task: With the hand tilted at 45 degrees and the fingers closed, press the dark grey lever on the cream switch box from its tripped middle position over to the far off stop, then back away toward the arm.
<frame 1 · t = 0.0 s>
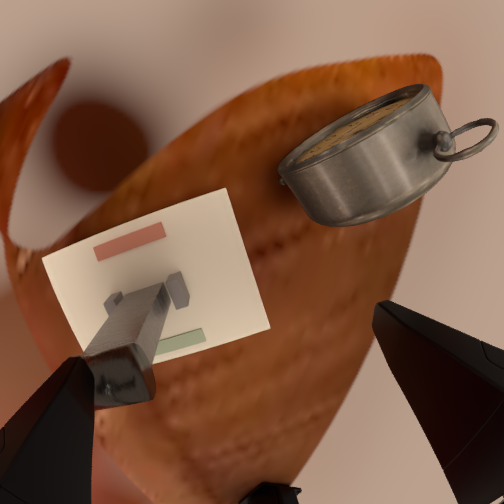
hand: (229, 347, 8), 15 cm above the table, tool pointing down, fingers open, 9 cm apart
breaker lever: (129, 333, 14), point 10 cm above the table, hinge at 0.0°
switch box: (158, 278, 23), on the table
alarm clock: (329, 162, 23), on the table
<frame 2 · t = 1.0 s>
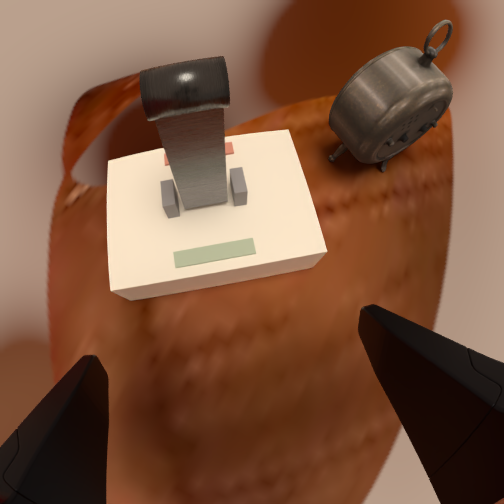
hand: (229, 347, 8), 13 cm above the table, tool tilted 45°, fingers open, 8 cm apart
breaker lever: (195, 147, 14), point 10 cm above the table, hinge at 0.0°
switch box: (210, 222, 23), on the table
alarm clock: (369, 155, 27), on the table
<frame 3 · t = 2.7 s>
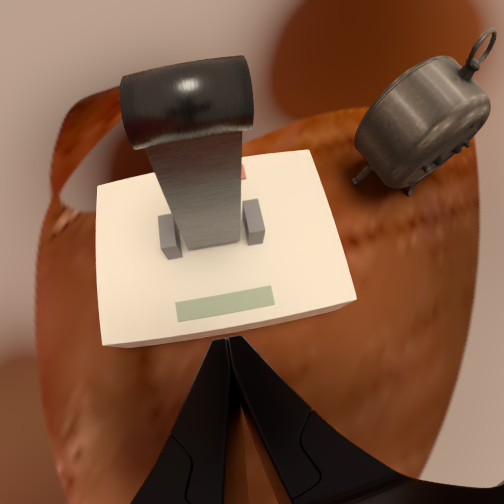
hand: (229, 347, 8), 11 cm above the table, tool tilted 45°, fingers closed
breaker lever: (201, 179, 11), point 10 cm above the table, hinge at 0.0°
switch box: (217, 259, 20), on the table
alarm clock: (394, 177, 24), on the table
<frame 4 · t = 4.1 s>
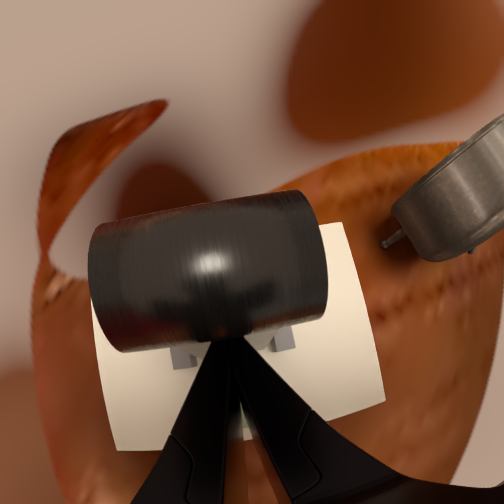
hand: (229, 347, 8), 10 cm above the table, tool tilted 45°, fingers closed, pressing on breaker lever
breaker lever: (223, 319, 9), point 10 cm above the table, hinge at 4.5°, touching gripper
switch box: (233, 343, 18), on the table
alarm clock: (424, 233, 21), on the table
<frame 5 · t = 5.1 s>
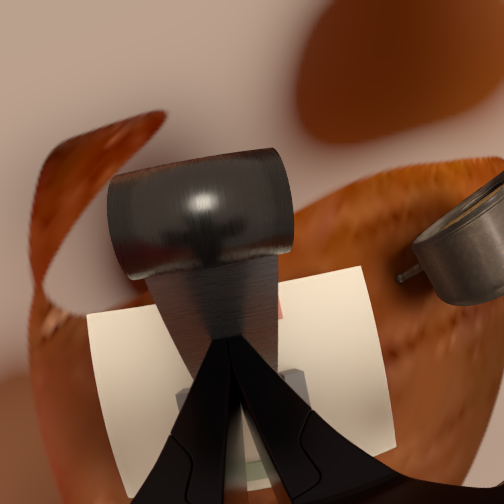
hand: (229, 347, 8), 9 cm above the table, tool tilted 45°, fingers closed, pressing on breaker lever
breaker lever: (226, 329, 9), point 9 cm above the table, hinge at 31.8°, touching gripper
switch box: (241, 387, 16), on the table
alarm clock: (439, 262, 19), on the table
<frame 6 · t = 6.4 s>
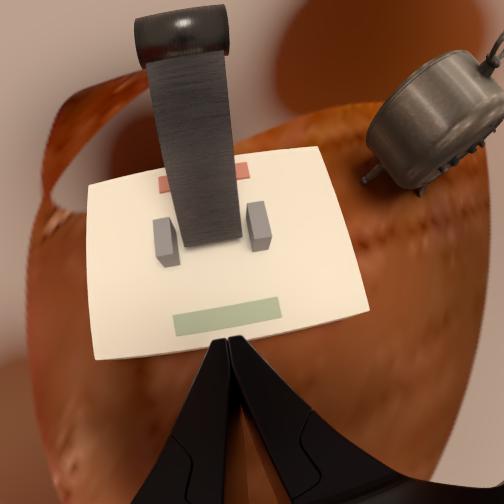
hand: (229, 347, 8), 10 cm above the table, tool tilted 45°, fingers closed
breaker lever: (195, 131, 11), point 9 cm above the table, hinge at 31.8°
switch box: (218, 264, 19), on the table
alarm clock: (404, 176, 22), on the table
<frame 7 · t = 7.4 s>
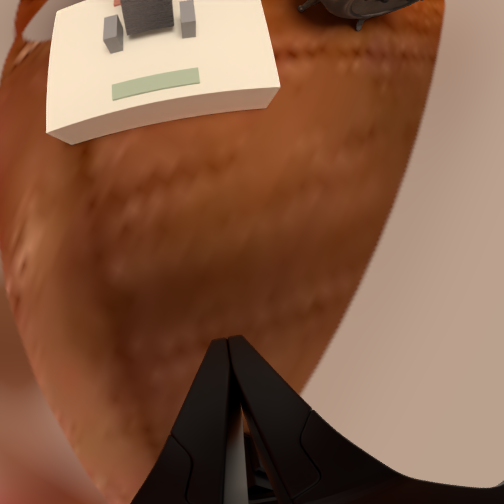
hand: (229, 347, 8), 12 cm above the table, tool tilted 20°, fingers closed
switch box: (159, 60, 18), on the table
alarm clock: (344, 13, 19), on the table
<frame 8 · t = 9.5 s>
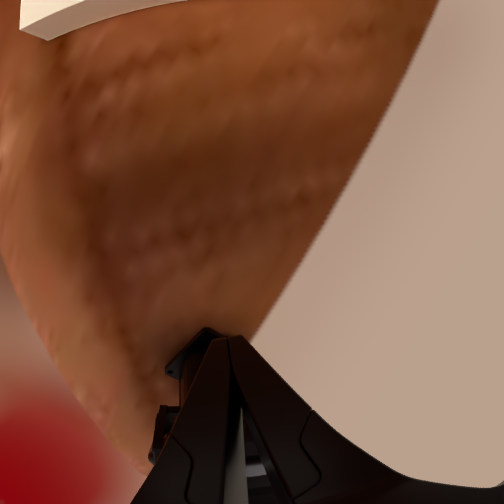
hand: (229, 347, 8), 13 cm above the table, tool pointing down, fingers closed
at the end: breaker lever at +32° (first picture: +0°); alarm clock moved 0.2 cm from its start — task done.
